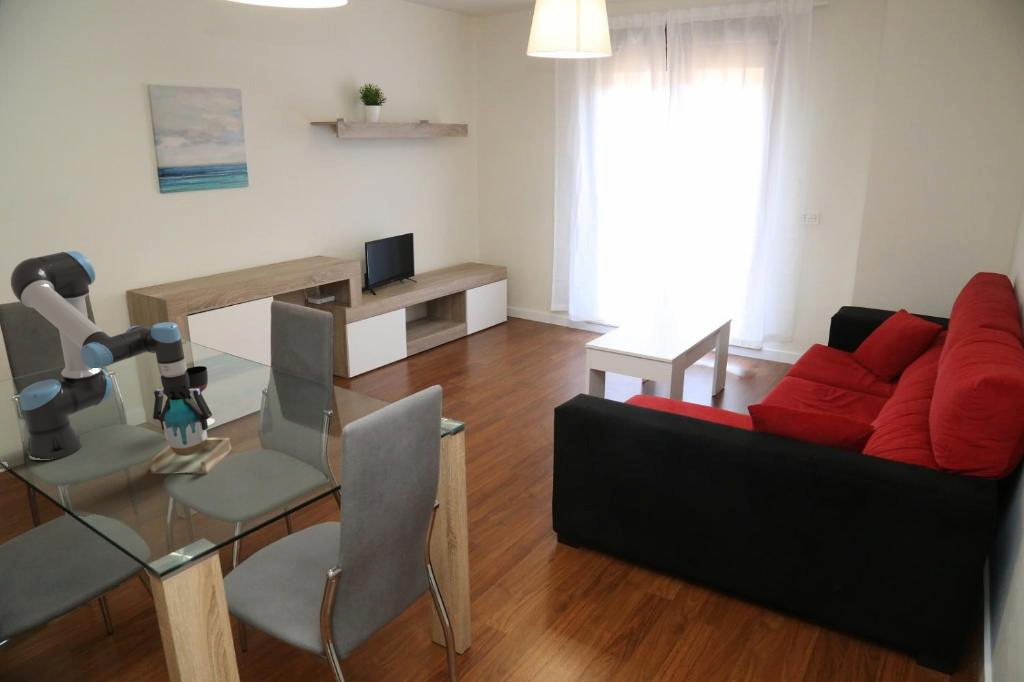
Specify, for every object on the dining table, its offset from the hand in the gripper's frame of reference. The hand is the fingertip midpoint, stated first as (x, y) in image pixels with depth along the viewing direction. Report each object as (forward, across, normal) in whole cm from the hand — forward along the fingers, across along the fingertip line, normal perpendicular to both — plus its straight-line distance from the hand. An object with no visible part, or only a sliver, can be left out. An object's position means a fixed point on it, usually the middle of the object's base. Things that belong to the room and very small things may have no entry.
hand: (187, 438), depth 218 cm
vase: (+5, 0, 0) cm, 5 cm away
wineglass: (+8, -11, +29) cm, 32 cm away
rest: (+8, 0, 0) cm, 8 cm away
